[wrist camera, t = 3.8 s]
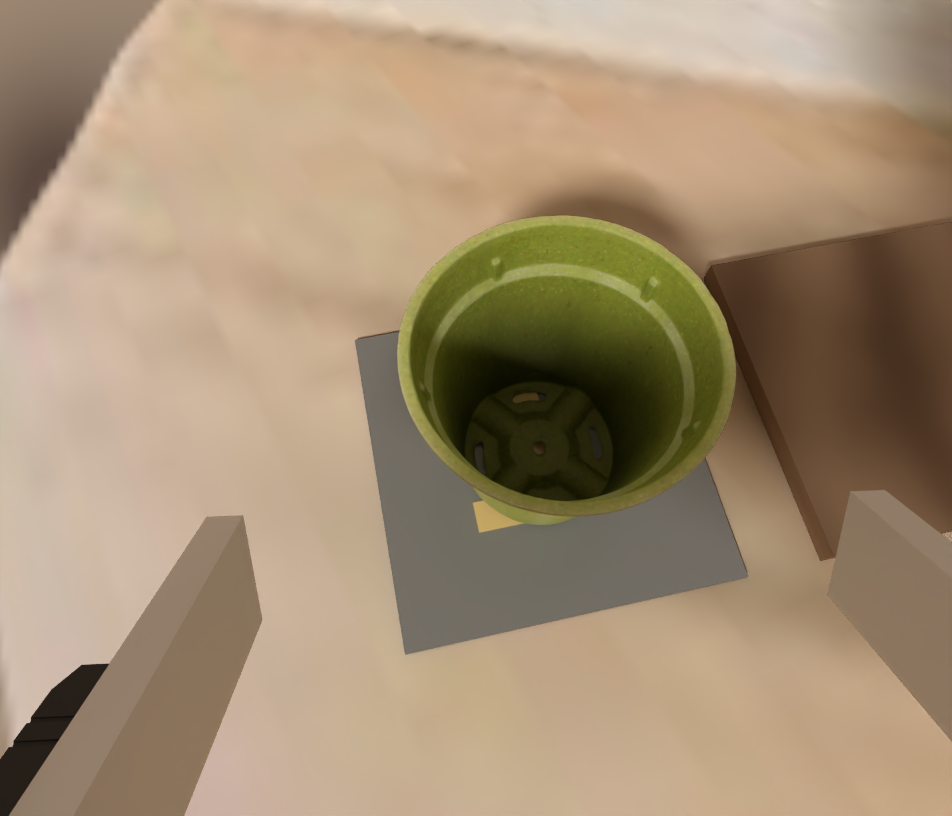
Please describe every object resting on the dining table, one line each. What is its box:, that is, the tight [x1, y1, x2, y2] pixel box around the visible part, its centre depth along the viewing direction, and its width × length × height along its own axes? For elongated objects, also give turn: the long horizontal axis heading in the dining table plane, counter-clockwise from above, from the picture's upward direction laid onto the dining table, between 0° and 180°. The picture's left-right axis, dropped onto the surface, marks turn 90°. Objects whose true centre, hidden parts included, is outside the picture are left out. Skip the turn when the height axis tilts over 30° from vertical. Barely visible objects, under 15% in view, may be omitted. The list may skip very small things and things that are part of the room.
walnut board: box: [704, 222, 952, 561], centre depth 27 cm, size 13×13×1 cm
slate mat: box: [355, 332, 748, 655], centre depth 26 cm, size 13×13×1 cm
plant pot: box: [397, 215, 736, 525], centre depth 22 cm, size 9×9×9 cm
